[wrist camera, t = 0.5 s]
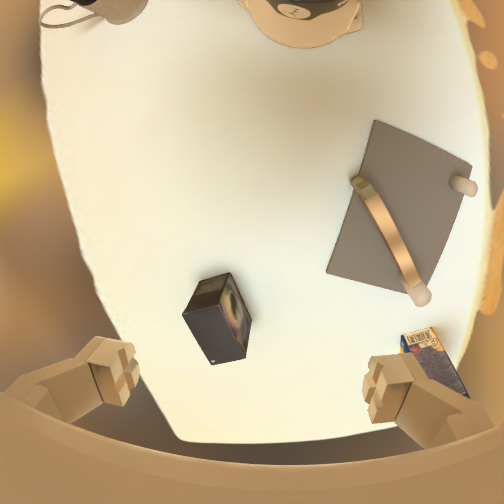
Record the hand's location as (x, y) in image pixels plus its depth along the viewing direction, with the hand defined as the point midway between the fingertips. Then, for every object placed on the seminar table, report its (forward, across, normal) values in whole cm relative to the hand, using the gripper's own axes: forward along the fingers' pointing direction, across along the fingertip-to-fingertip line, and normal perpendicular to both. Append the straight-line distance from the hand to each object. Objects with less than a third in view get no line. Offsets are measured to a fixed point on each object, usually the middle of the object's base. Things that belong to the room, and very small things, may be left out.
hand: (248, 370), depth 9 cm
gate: (+35, -17, +2) cm, 39 cm away
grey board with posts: (+36, -22, 0) cm, 42 cm away
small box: (+39, +7, +17) cm, 43 cm away
